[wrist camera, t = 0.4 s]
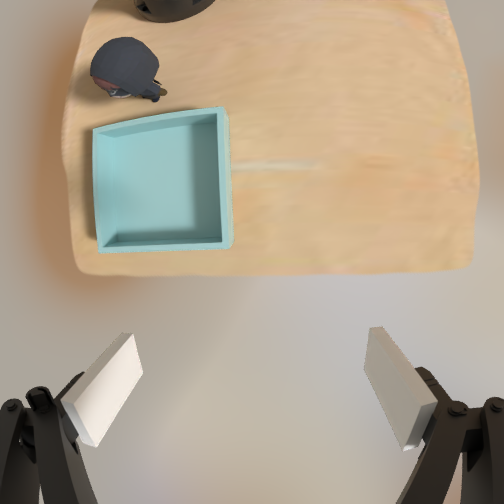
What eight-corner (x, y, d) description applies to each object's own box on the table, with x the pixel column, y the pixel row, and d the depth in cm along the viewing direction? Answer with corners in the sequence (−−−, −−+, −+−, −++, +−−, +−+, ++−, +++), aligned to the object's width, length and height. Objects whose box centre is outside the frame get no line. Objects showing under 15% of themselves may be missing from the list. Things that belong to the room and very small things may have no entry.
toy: (119, 104, 37) (64, 75, 22) (145, 63, 36) (100, 20, 21) (164, 125, 38) (115, 95, 23) (191, 81, 36) (157, 33, 21)
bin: (111, 134, 38) (93, 128, 33) (228, 117, 37) (223, 106, 32) (116, 246, 42) (98, 253, 36) (234, 241, 41) (229, 248, 35)
